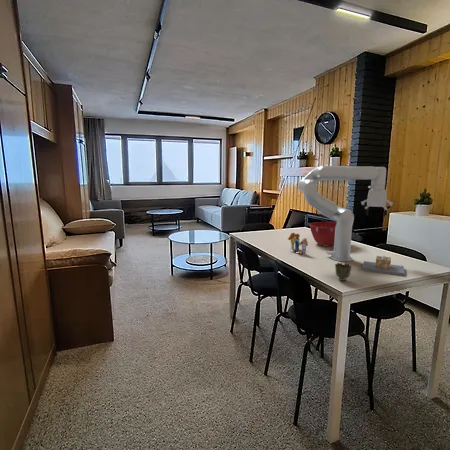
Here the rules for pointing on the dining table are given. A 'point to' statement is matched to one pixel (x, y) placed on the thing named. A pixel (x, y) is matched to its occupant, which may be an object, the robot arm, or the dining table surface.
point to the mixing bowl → (323, 232)
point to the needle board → (393, 269)
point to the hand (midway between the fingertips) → (375, 215)
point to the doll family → (295, 239)
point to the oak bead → (383, 262)
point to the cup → (342, 271)
